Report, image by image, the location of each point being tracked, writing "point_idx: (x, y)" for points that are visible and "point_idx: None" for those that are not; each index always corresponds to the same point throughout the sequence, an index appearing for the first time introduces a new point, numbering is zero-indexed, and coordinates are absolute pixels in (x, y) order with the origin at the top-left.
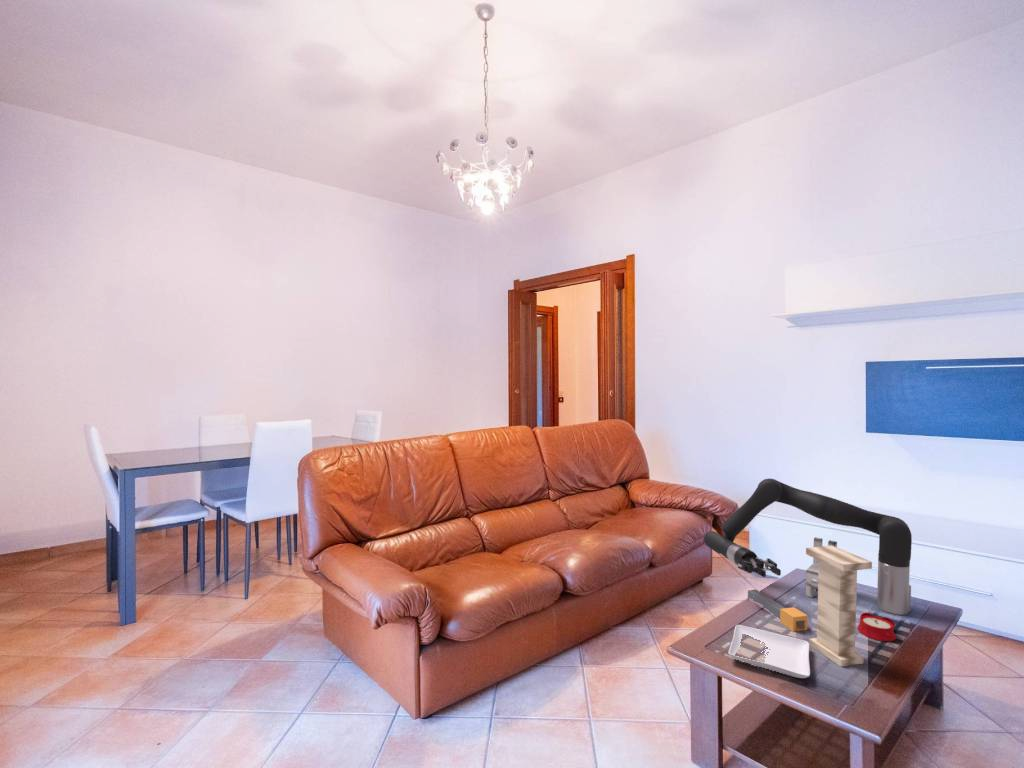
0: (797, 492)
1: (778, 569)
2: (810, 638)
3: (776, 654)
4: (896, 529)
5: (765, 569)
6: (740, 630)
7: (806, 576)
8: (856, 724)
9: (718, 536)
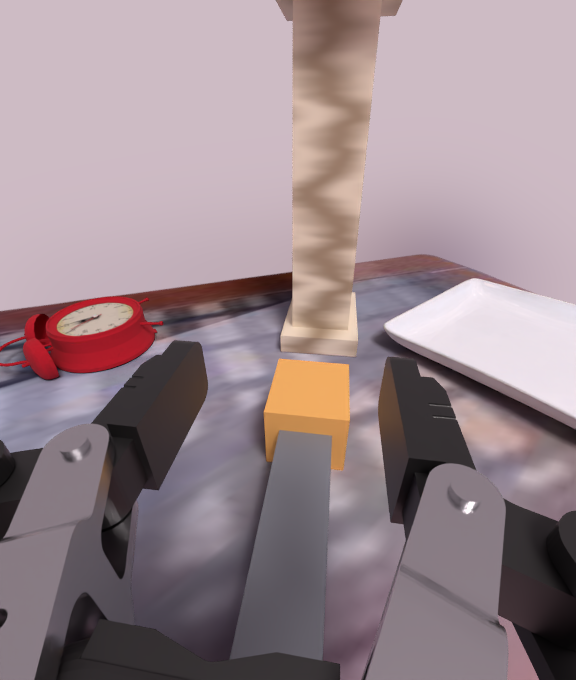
0: None
1: (189, 344)
2: (352, 340)
3: (496, 345)
4: None
5: (125, 620)
6: None
7: None
8: (445, 260)
9: None
